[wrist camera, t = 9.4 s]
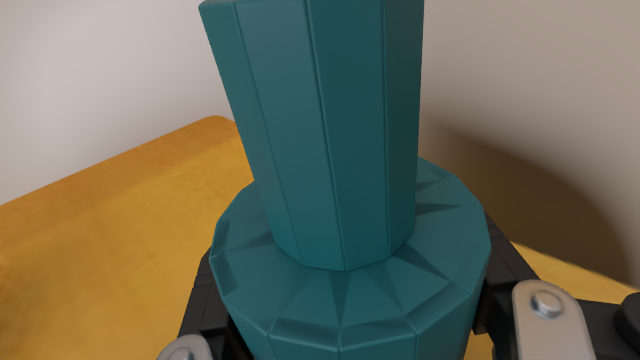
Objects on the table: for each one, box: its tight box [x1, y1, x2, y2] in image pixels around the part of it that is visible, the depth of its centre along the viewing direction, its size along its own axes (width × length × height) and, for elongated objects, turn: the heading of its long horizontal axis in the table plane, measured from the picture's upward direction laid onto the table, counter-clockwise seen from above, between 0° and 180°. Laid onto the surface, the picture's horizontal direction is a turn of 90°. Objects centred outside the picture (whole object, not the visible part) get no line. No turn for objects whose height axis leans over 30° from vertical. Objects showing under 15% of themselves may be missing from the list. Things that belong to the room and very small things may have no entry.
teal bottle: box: [198, 0, 492, 360], centre depth 9 cm, size 6×6×18 cm
